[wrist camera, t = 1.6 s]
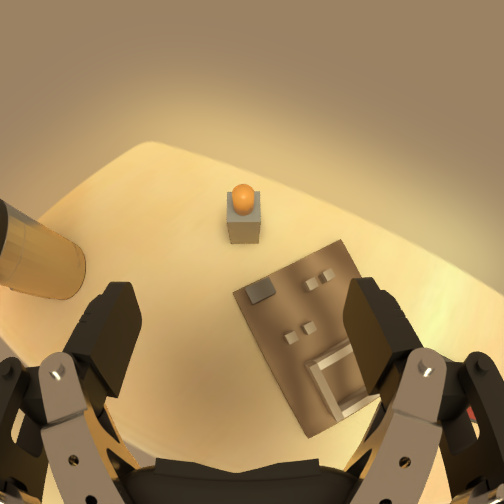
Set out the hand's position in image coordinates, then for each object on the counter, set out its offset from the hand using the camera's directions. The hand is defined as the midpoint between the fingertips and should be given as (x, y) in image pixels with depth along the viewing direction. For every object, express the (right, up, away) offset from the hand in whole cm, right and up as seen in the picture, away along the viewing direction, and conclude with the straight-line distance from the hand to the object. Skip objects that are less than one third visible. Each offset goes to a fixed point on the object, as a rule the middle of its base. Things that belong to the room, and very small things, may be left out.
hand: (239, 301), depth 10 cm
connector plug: (-1, +5, +28) cm, 28 cm away
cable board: (+10, -10, +24) cm, 28 cm away
